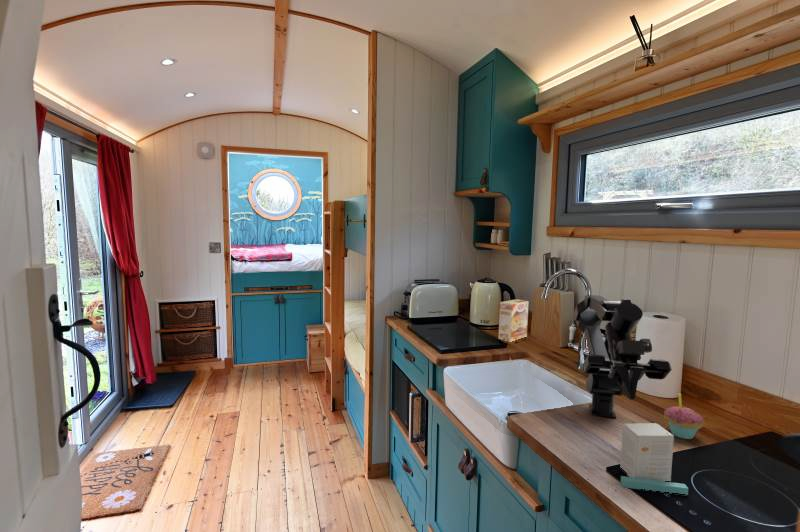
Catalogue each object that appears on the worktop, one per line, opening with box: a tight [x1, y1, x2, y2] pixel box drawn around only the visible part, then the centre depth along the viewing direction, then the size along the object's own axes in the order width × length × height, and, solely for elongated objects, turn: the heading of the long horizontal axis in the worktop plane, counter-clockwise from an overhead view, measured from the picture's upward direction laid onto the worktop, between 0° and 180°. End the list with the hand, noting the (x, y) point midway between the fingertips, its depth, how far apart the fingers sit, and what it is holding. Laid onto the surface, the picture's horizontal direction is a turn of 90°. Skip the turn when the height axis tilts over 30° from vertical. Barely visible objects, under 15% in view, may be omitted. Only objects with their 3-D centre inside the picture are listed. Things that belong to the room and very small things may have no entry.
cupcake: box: [663, 390, 704, 440], centre depth 106 cm, size 9×8×12 cm
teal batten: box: [620, 475, 689, 496], centre depth 83 cm, size 2×12×2 cm, turn 78°
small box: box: [619, 422, 675, 482], centre depth 88 cm, size 8×6×10 cm
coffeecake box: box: [497, 298, 530, 342], centre depth 194 cm, size 15×7×20 cm, turn 132°
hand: (632, 399), depth 96 cm, fingers closed
